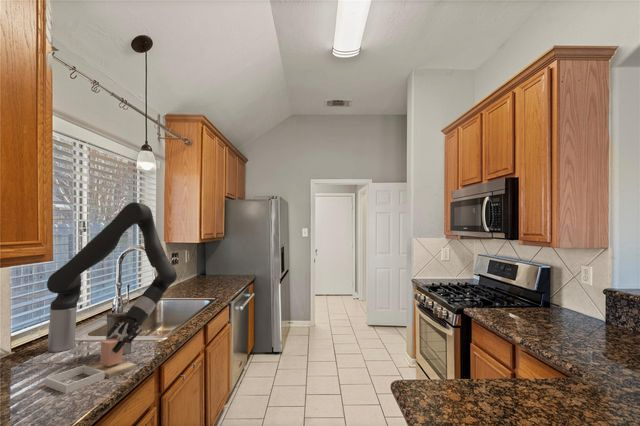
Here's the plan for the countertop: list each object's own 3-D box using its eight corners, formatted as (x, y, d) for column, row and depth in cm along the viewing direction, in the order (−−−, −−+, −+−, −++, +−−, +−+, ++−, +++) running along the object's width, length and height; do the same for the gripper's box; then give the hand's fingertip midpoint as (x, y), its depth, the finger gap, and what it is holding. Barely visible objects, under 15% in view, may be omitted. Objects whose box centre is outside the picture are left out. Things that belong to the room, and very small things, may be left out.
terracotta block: (100, 363, 124) (101, 341, 125) (113, 359, 129) (114, 337, 129) (108, 366, 122) (109, 343, 122) (122, 361, 126) (123, 339, 127)
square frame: (44, 385, 112) (45, 377, 112) (83, 372, 122) (84, 365, 122) (65, 393, 106) (66, 385, 106) (104, 379, 117) (104, 371, 117)
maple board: (84, 370, 124) (85, 366, 124) (112, 361, 133) (112, 357, 133) (109, 378, 118) (109, 374, 118) (135, 368, 126) (136, 364, 127)
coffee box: (130, 348, 147) (131, 311, 148) (131, 353, 142) (133, 314, 143) (104, 352, 142) (106, 313, 143) (105, 357, 137) (107, 317, 138)
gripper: (123, 303, 137) (90, 342, 126) (147, 307, 131) (115, 348, 119) (134, 313, 142) (104, 352, 130) (158, 318, 135) (128, 359, 124)
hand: (109, 350), depth 125 cm, fingers closed on terracotta block, 5 cm apart
